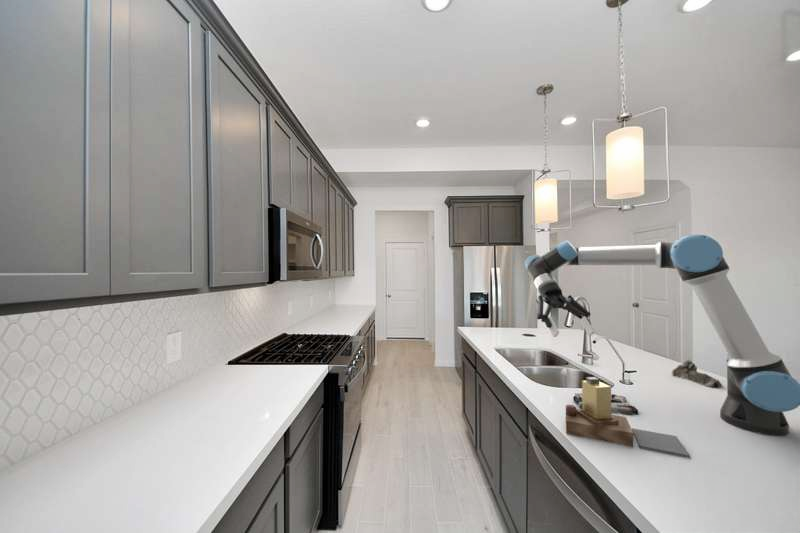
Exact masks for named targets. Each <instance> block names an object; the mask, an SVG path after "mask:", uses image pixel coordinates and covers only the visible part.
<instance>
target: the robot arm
mask: <svg viewBox="0 0 800 533" xmlns="http://www.w3.org/2000/svg"><path fill="white" fill-rule="evenodd" d="M524 266H525V268H526V271H527V274H528V275H529V276H530V278H531V279H532V280H531V281H532V282H533V283H534V286H535V288H536V289H537V291H538V294H539V295H538V297H536V303H537V309H536V310H537V311H536V319H537V320H540V321H541V322H542V323H544V324H545V325H546V327H547V328H548V329H549V330H550V332H551V334H552V337H553V338H556V337H557V336H558V335H559V334H560V330H559V329H558V327H557V326H556V323H555V322H554V320H553V318H552V316H550V313H551V311H552V309H562V310H565V311H567V312H568V313H571V314H572V315H573V316H575V317H577V318H578V319H579V322H580V323H581V326H582V327H583V329H584V331H585V332H586V334H587V336H588V337H592V335H593V334H595V333H596V331H595V329H594V327H593V326H592V322H591V320H590V319H589V317H590V316H591V312H590V311H588V309H586V308H585V307H584V306H583V305H582V304H580V303H579V302H578V301H577V300H575V299H574V297H573V296H572V295H568V296H564V294H563V290H562V289H561V286H559V284H558V282H557V279H555V277H554V275H553V274H552V272H554V271H556V270H557V269H560V268H561V267H562V266H656V267H657V268H659V269H672V270H673V269H675V270H676V271H677V273H678V275H679V277H680V278H681V280H682V282H683V283H685V284H688V285H689V286H690V285H691V287H692V289H693V291H694V293H695V294H696V296H697V299H698V300H699V301H700V302H699V303H700V304H701V305H702V308H703V310H704V311H705V313H706V315H707V317H708V318H709V321H710V322H711V325H712V327H713V329H714V331H715V332H716V334H717V335H718V337H719V340H720V341H721V343H722V345H723V347H724V348H725V349H724V350H726V352H727V355H726V360H725V361H726V372H727V374H726V375H727V376H726V377H727V378H726V379H727V380H726V382H727V385H726V386H727V387H726V388H727V389H726V390H727V394H726V398H725V399H724V402H723V404H722V406H721V408H720V409H719V410H720V411H719V413H720V414H719V415H720V418H721V419H722V420H723V421H724V422H726V423H727V424H729V425H733V426H734V427H737V428H740V429H743V430H746V431H750V432H753V433H759V434H761V435H762V434H763V435H770V436H788V435H789V434H790V424H789V422H788V420H787V418H786V416H785V414H784V412H785V413H786V412H791V411H793V410H795V409H797V408H799V406H800V383H799V381H798V380H797V379H796V378H794V377H793V376H792V375H791V374H790V372H789V370H788V368H787V366H786V365H785V362H784V361H783V359H782V358H781V357H780V355H777V354H775V353H772V352H770V350H769V349H768V347H767V345H766V344H765V342H764V340H763V338H762V336H761V335H760V333H759V331H758V329H757V327H756V326H755V324H754V323H753V320H752V319H751V316H750V315H749V314H748V312H747V310H746V308H745V306H744V305H743V303H742V300H741V299H740V298H739V296H738V294H737V292H736V291H735V289H734V286H732V283H731V282H730V279H729V278H728V277H727V275H728V273H729V271H730V270H731V268H730V266H729V265H728V263H727V261H726V259H725V258H724V253H723V248H722V245H721V244H720V243H719V242H718V241H717V240H716V239H714V238H713V237H710V236H708V235H705V234H697V233H695V234H689V235H685V236H683V237H680V238H678V239H676V240H672V241H659V242H657V243H656V244H647V245H645V244H644V245H643V244H642V245H639V244H638V245H612V246H611V245H609V246H608V245H607V246H582V247H575V246H574V245H573V244H571V242H570V241H569V240H564V241H562V242H560V243H558V244H557V245H556V246H554V247H553V248H551V249H550V250H549V251H547V252H546V253H544V254H543V255H540V254H533V255H530V256H529V257H527V258H526V260H525V262H524ZM544 303H546V304H547V306H546V308H545V310H544Z"/></svg>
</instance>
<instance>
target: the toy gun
mask: <svg viewBox="0 0 800 533" xmlns="http://www.w3.org/2000/svg"><path fill="white" fill-rule="evenodd" d="M627 401H628V399H627V398H626V397H625V396H623V395H617V394H612V393H611V414H612V413H613V414H614V413H615V414H618V413H620V414H626V415H639V409H638V408H636V407H635V406H633V405H630V404H629V402H627ZM573 402H574V403H575V404H576V405H578V409H582V393H574V396H573Z"/></svg>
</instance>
